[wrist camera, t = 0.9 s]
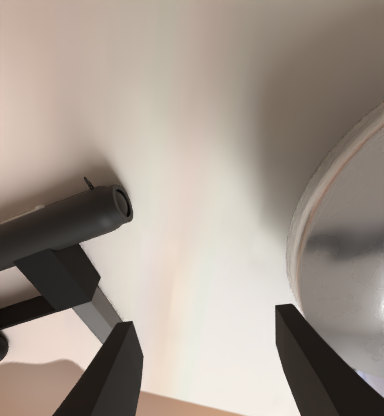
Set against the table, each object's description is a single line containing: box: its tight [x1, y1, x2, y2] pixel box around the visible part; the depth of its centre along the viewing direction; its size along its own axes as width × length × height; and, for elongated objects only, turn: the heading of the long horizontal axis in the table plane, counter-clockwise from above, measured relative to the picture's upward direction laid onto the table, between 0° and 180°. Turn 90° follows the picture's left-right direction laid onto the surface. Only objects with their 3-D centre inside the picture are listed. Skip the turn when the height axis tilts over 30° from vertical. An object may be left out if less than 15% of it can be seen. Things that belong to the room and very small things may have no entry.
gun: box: [0, 177, 133, 361], centre depth 21 cm, size 3×20×16 cm
